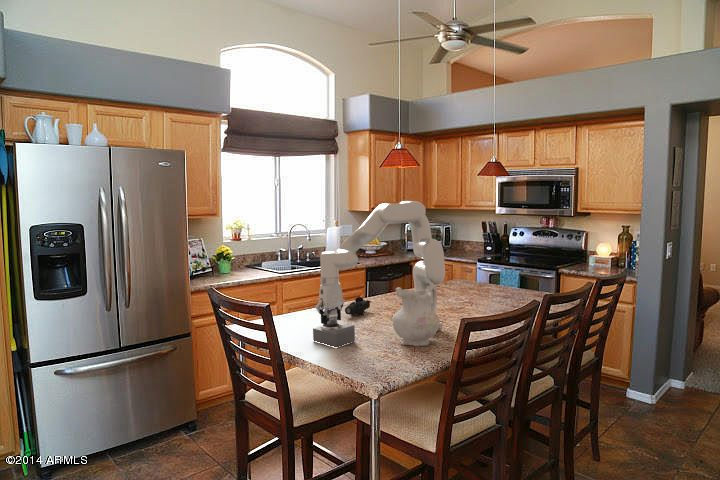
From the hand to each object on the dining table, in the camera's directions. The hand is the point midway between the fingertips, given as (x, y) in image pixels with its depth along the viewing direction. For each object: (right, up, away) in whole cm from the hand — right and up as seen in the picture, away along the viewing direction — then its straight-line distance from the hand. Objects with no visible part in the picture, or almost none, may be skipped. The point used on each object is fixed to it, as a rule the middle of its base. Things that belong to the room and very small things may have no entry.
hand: (331, 321), depth 210 cm
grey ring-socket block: (+1, -9, 0) cm, 9 cm away
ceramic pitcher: (+37, -8, -2) cm, 38 cm away
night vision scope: (+11, -4, +45) cm, 46 cm away
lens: (0, -3, 0) cm, 3 cm away
